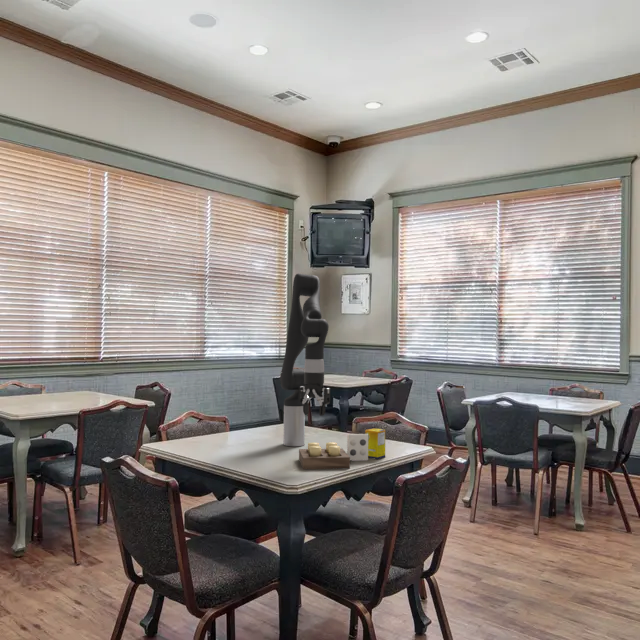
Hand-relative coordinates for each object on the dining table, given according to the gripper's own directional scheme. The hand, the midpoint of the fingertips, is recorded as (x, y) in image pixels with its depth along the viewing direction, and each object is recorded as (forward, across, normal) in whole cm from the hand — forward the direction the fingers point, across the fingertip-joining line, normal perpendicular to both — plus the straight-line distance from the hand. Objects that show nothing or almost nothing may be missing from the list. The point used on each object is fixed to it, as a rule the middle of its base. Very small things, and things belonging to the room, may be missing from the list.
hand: (313, 414), depth 230 cm
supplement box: (+18, -13, -23) cm, 32 cm away
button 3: (+14, -5, -5) cm, 16 cm away
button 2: (+14, -5, +5) cm, 16 cm away
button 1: (+14, 0, 0) cm, 14 cm away
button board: (+18, -5, 0) cm, 19 cm away
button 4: (+14, -10, 0) cm, 17 cm away
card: (+18, -11, -14) cm, 25 cm away
